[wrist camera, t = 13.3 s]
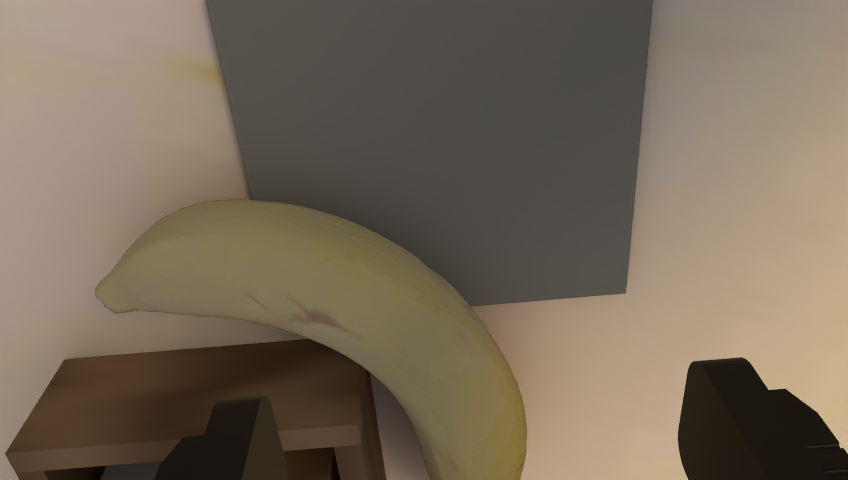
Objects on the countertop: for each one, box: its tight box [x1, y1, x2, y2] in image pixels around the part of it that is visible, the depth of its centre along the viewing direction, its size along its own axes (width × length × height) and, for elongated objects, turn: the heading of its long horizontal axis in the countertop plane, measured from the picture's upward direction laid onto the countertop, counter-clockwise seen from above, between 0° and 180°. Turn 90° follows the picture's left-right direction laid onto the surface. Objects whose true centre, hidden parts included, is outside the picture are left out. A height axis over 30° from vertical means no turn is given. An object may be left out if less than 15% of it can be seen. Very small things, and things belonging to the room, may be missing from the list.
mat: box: [206, 0, 653, 306], centre depth 19 cm, size 11×10×1 cm
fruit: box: [95, 200, 527, 480], centre depth 21 cm, size 7×15×3 cm, turn 45°
